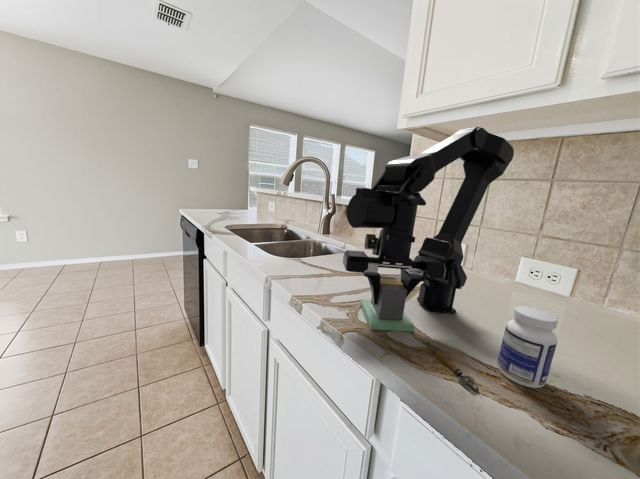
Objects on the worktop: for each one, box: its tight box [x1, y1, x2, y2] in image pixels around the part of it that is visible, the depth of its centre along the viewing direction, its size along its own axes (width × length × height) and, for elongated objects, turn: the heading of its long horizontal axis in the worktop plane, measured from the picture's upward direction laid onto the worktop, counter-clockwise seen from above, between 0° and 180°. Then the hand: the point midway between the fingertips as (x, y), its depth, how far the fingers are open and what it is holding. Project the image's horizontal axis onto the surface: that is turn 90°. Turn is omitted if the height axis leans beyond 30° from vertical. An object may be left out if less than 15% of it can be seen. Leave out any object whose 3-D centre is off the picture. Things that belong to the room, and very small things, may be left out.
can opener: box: [432, 347, 480, 397], centre depth 37 cm, size 9×2×1 cm, turn 7°
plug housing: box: [370, 275, 407, 320], centre depth 50 cm, size 7×4×6 cm, turn 2°
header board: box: [360, 299, 415, 333], centre depth 51 cm, size 10×8×4 cm
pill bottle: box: [496, 305, 559, 389], centre depth 36 cm, size 6×6×10 cm
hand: (386, 304), depth 51 cm, fingers closed on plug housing, 4 cm apart
